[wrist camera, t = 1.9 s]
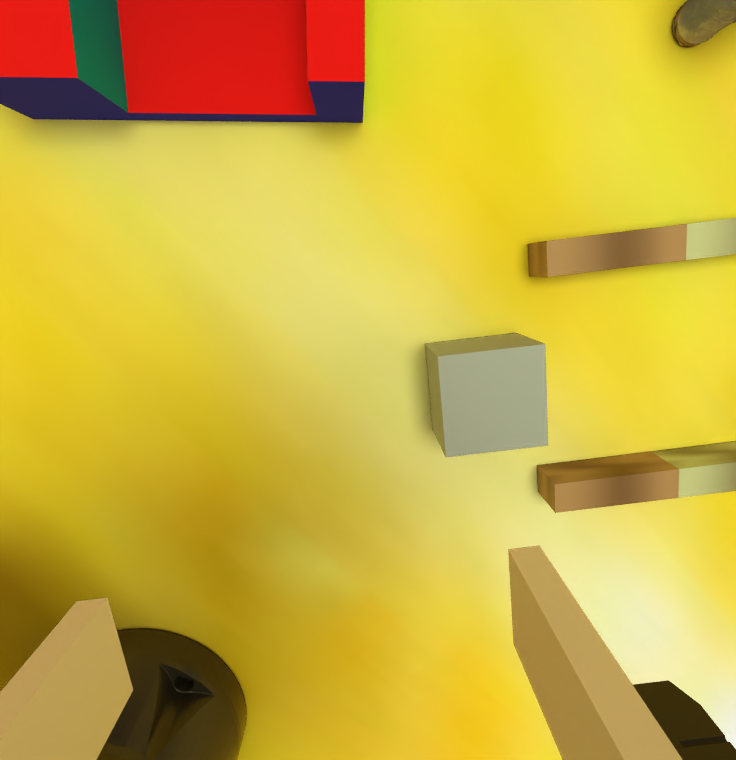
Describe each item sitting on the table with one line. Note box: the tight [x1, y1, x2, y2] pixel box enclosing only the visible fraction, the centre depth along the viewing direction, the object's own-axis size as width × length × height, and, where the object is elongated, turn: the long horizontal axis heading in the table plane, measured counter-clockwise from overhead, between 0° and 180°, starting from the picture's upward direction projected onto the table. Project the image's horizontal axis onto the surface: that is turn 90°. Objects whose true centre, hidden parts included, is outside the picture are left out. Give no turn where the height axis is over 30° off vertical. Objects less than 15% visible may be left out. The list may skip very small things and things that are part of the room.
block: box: [425, 333, 548, 457], centre depth 30 cm, size 6×6×5 cm
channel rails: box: [528, 218, 736, 513], centre depth 30 cm, size 16×17×3 cm
